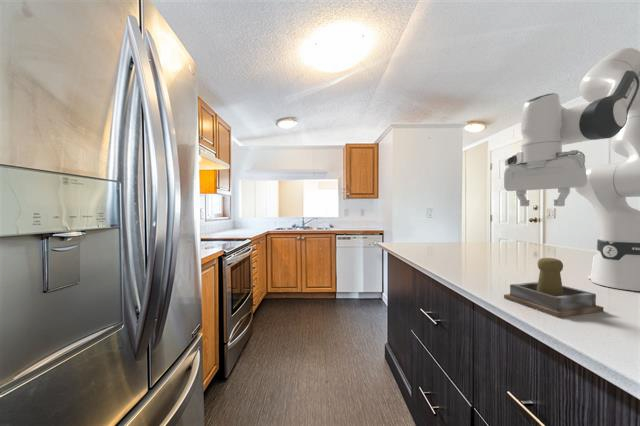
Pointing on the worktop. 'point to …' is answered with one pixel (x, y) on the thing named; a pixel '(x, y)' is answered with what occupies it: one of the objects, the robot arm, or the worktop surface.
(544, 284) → the cork
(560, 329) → the worktop surface
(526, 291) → the grey-rimmed square tray
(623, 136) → the robot arm
